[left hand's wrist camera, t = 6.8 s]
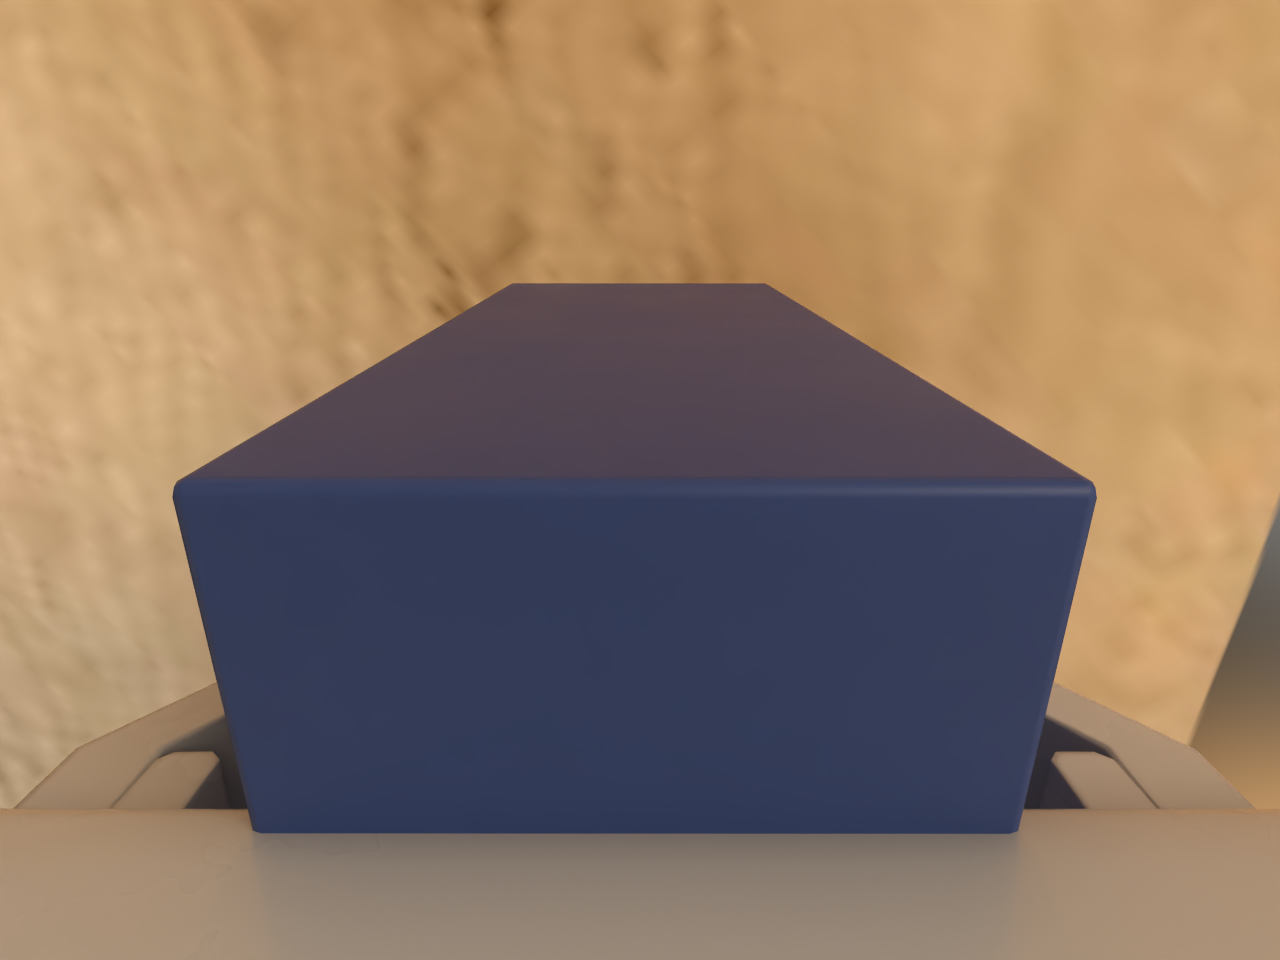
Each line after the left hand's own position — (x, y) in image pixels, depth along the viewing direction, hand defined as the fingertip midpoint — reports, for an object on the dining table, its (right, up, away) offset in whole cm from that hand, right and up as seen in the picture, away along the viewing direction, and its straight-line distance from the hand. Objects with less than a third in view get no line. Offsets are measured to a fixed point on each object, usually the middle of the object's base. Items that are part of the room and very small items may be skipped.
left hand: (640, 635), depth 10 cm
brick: (0, +2, +6) cm, 6 cm away
